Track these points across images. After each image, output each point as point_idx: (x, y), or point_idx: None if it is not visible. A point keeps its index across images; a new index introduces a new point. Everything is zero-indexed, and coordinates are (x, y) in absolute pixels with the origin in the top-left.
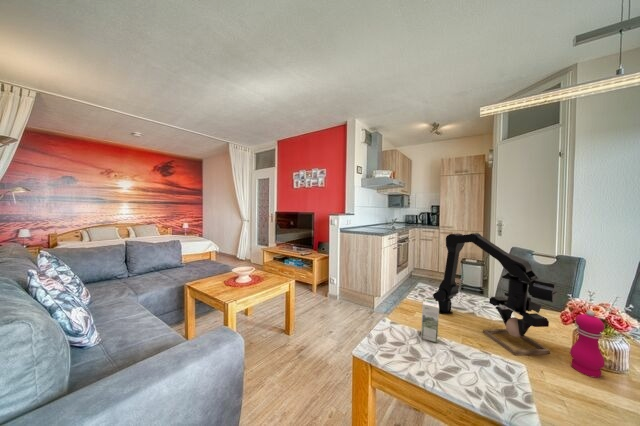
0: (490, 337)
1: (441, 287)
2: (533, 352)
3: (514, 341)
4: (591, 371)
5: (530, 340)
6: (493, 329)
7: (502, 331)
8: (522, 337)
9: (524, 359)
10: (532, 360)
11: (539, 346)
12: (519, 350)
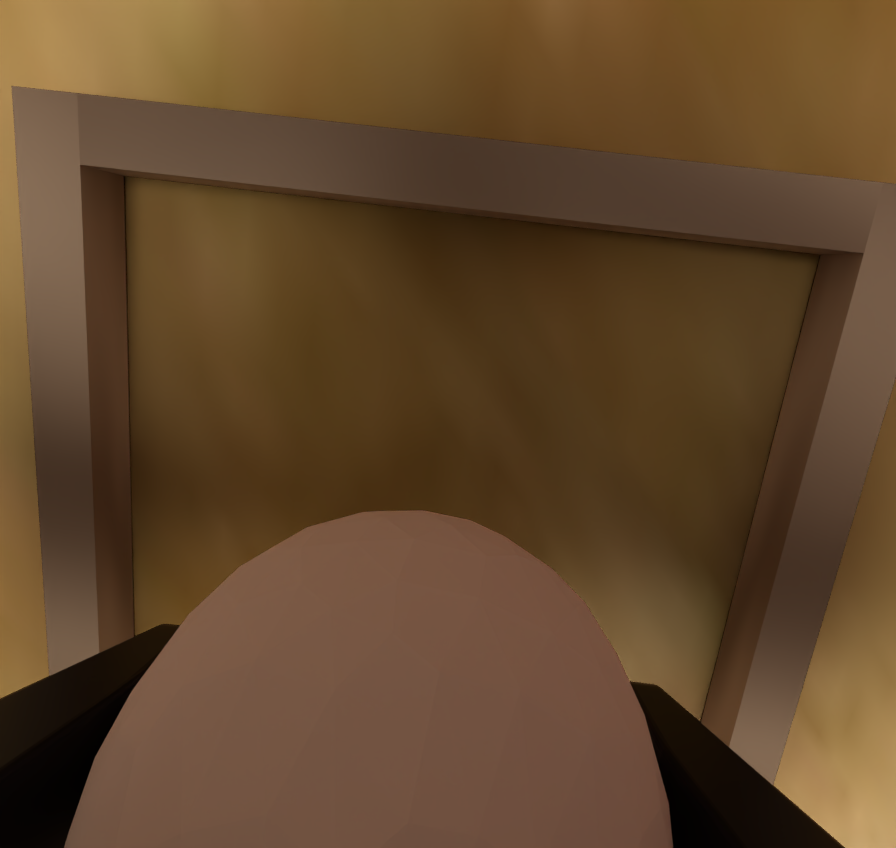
0: None
1: None
2: (817, 588)
3: (405, 487)
4: None
5: (530, 218)
6: (50, 626)
7: (106, 462)
8: (340, 199)
9: (819, 815)
10: (880, 728)
11: (737, 239)
12: None
